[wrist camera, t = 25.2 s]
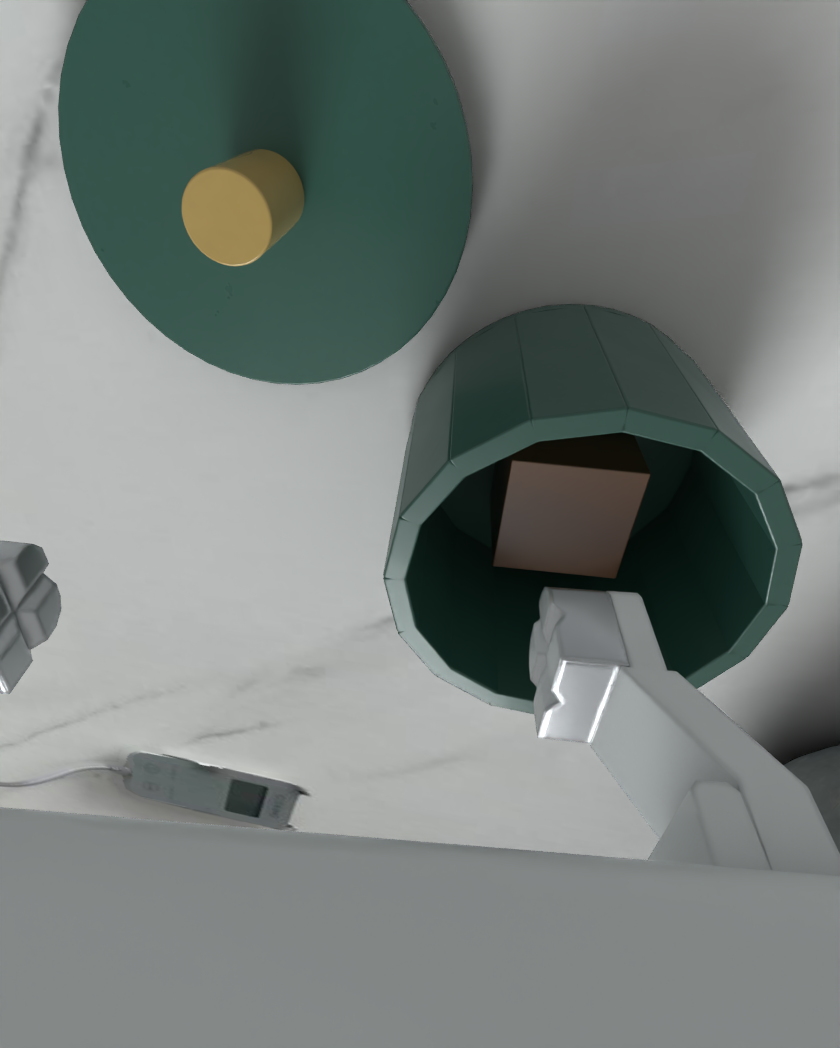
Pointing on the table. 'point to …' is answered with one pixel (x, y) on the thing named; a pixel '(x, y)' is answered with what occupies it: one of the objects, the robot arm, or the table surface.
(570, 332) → the tin
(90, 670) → the table surface
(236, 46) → the tin lid
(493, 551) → the block
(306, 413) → the table surface
